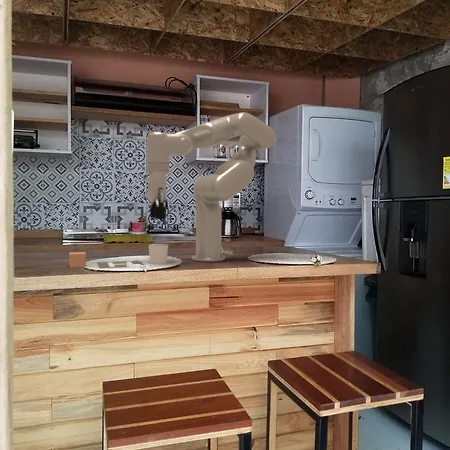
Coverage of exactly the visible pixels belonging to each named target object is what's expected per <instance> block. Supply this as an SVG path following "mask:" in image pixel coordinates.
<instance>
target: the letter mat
mask: <svg viewBox="0 0 450 450" xmlns="http://www.w3.org/2000/svg"><path fill="white" fill-rule="evenodd" d="M96 264H97V267H98V268H99V269H117V268H118V269H119V268H128V267H127V266H126V265H127V264H141V265H145V264H144V262H142V261H141V260H124V261H123V260H121V261H119V260H118V261H100V262H99V261H97V262H96Z"/></svg>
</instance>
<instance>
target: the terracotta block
mask: <svg viewBox="0 0 450 450" xmlns="http://www.w3.org/2000/svg"><path fill="white" fill-rule="evenodd" d="M68 256H69V259H68V260H69V269H70V268H71V269H73V268H86V267H87V254H86V251H81V252H80V251H79V252H78V251H77V252H76V251H75V252H74V251H73V252H72V251H71V252H69V255H68Z"/></svg>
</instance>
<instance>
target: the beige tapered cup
mask: <svg viewBox="0 0 450 450" xmlns="http://www.w3.org/2000/svg"><path fill="white" fill-rule="evenodd" d="M168 251H169V244H166V243H151V244H148V253H149V254H148V255H149V263H150V264H153V265H162V264H164V265H165V264H167V262H168V253H169V252H168Z"/></svg>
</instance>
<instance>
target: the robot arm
mask: <svg viewBox="0 0 450 450" xmlns="http://www.w3.org/2000/svg"><path fill="white" fill-rule="evenodd" d="M276 136H277V135H276V132H275V131H274V130H273V128H272V127H270V126H269V125H268V124H267V123H265V122H264V121H262V120H261V119H259V118H258V117H256V116H254V115H252V114H251V113H248V112H246V111H245V112H244V111H243V112H238V113H237V112H236V113H233V114H230V115H229V114H228V115H226V116H223V117H220V118H216V119H213V120H210V121H208V122H203V123H201V124H198V125H196V126H193V127H191V128H189V129H185V130H182V131H179V132H177V133H166V132H161V131H155V132H154V131H153V132H150V133H148V135H147V136H146V137H147V138H146V139H147V140H146V146H147V147H146V151H147V152H146V174H148V184H147V201H149V202H150V207H149V209H150V210H149V212H150V213H149V217H150V218H151V219H156V220H165V219H166V202H165V201H167V175H168V174H170V158H172V157H181V156H186V155H187V154H189V153H190V152H191V151H192V150H195V149H201V148H207V147H211V146H214V145H217V144H220V143H221V142H225V141H228V140H231V139H234V138H236V137H240V138H239V142H238V144H239V145H238V152H237V153H236V154H234V155H233V156H232V157H231V158H229V159H228V160H227V161H225V162H224V163H222V164H220V166H219V167H218V168H217V170H216V172H215V174H214V175H213V174H211V175H203V176H200V177H199V178H197V179H196V181H195V182H194V185H193V195H194V201H195V254H194V255H192V256H191V260H192V261H197V262H221V261H224V260H226V256H232V257H233V250H229V249H227V250H225V249H224V247H223V246H222V207H221V204H220V202H227V201H229V200H230V199H232V198H233V197H236V195H237V194H239V193H240V192H242V191H243V190H244V189H246V188H247V187H248V186H249V185H250V184H251V183H252V182H253V181H252V180H253V179H254V175H255V170H254V169H255V165H256V162H257V161H256V160H257V157H256V154H257V153H256V152H257V151H262V150H266V149H267V150H268V149H270V148H272V147H273V146H274V145H275V143H276V140H277V137H276Z"/></svg>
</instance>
